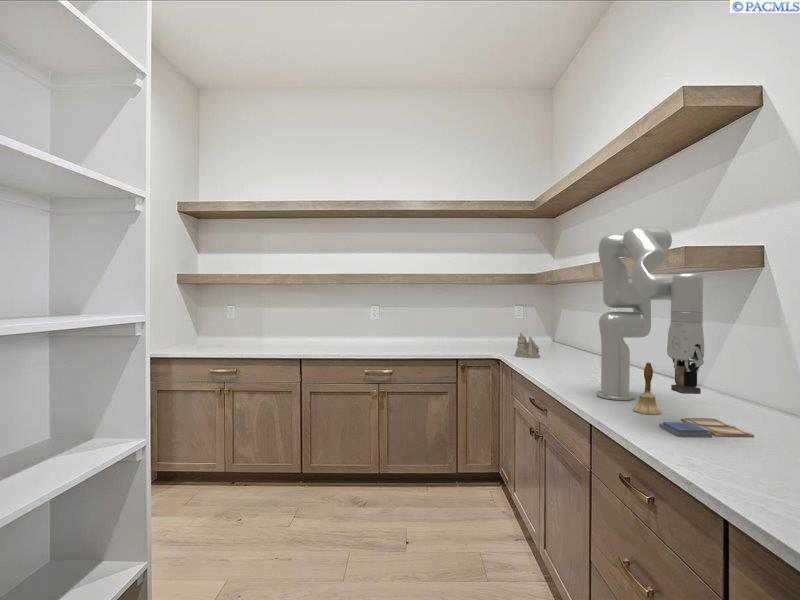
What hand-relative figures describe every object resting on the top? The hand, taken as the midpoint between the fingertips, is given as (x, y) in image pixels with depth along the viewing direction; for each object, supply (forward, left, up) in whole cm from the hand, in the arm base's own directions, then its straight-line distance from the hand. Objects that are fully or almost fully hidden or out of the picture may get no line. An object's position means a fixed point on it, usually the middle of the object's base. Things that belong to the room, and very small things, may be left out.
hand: (685, 384), depth 127 cm
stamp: (0, 0, -2) cm, 2 cm away
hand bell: (-22, +1, -14) cm, 26 cm away
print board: (-4, +11, -13) cm, 18 cm away
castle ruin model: (-154, -3, -14) cm, 155 cm away
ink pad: (0, 0, -13) cm, 13 cm away
